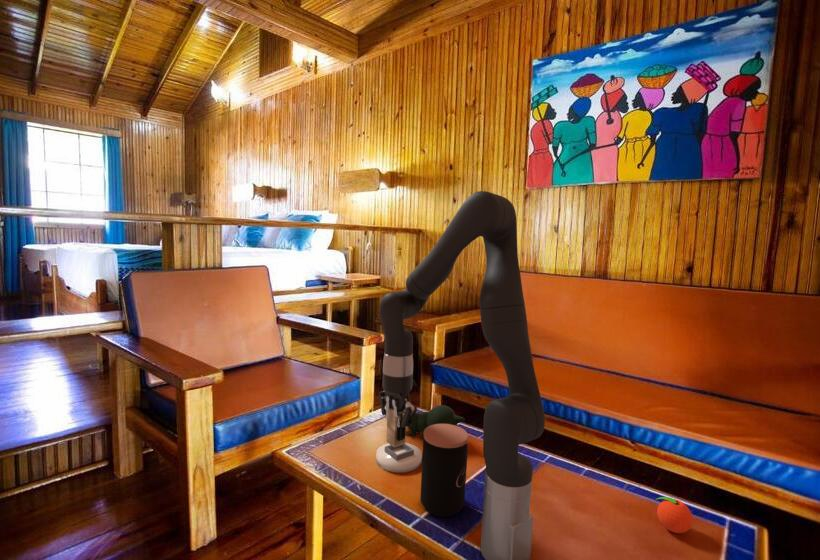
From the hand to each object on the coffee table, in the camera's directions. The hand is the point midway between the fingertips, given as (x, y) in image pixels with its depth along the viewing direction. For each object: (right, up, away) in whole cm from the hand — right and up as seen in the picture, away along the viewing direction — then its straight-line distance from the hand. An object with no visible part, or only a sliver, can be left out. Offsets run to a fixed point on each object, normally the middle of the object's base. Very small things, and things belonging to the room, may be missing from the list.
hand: (395, 436), depth 110 cm
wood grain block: (0, -2, 0) cm, 2 cm away
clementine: (+63, -17, -11) cm, 67 cm away
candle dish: (0, -12, +14) cm, 18 cm away
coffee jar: (+11, -15, -5) cm, 19 cm away
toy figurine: (+9, -10, +29) cm, 32 cm away
